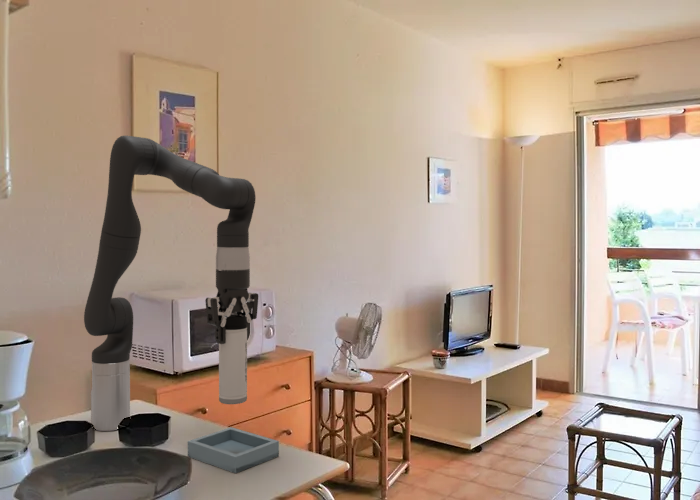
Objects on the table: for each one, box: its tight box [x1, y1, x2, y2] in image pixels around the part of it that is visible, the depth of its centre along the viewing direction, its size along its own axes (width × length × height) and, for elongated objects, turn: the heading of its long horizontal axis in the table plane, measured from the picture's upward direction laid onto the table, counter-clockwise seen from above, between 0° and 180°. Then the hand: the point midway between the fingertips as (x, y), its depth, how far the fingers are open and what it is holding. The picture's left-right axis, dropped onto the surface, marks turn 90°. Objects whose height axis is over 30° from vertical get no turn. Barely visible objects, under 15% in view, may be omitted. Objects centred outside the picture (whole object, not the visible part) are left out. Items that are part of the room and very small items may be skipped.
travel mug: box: [218, 313, 248, 405], centre depth 147 cm, size 6×7×20 cm
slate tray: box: [187, 426, 280, 474], centre depth 148 cm, size 16×13×4 cm
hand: (232, 340), depth 147 cm, fingers closed on travel mug, 6 cm apart
